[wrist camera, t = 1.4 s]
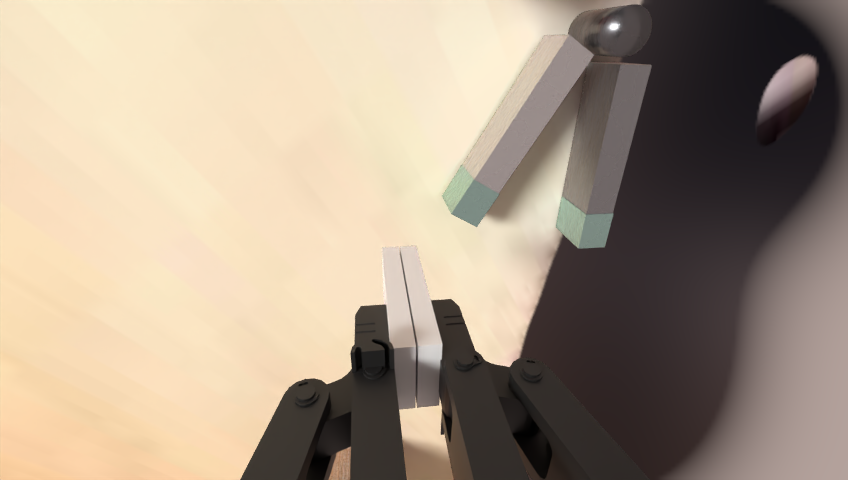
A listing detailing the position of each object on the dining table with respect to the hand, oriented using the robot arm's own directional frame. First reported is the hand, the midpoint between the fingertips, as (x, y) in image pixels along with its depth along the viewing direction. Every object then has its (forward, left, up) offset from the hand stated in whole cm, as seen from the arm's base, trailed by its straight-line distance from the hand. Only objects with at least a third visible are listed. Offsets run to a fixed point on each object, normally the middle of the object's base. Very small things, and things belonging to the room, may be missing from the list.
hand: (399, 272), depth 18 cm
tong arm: (-3, +10, -16) cm, 19 cm away
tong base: (-3, +17, -16) cm, 24 cm away
